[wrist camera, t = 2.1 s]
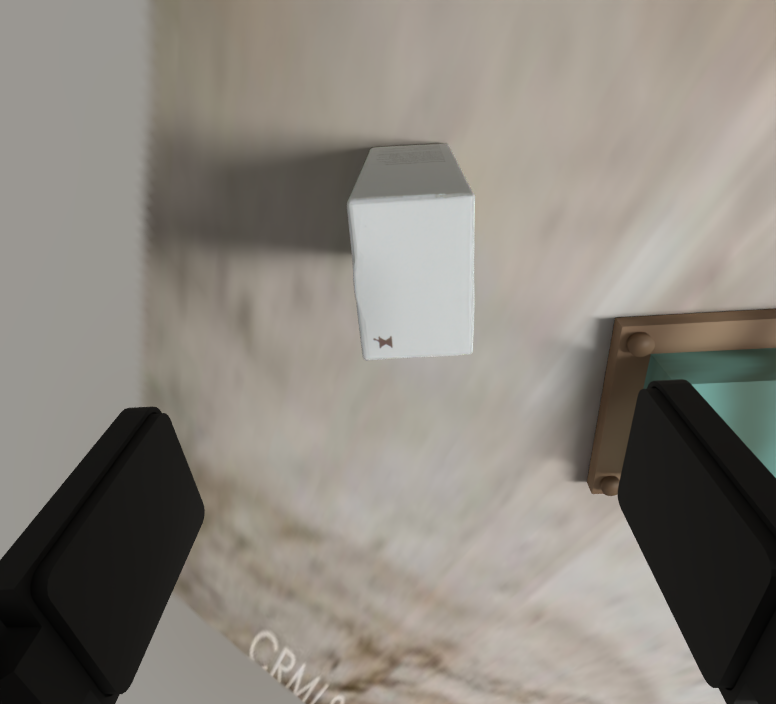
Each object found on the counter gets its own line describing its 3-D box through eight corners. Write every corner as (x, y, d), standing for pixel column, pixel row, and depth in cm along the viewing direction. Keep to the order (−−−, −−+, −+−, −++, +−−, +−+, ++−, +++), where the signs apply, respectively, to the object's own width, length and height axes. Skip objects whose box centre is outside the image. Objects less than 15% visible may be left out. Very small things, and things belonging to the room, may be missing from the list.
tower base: (859, 304, 29) (928, 341, 25) (781, 476, 36) (826, 525, 32) (615, 317, 30) (645, 355, 26) (586, 481, 37) (607, 530, 33)
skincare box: (451, 251, 28) (474, 361, 18) (377, 255, 28) (359, 365, 18) (450, 137, 25) (479, 191, 15) (368, 143, 25) (340, 200, 15)
